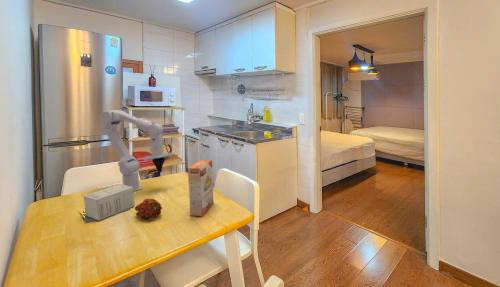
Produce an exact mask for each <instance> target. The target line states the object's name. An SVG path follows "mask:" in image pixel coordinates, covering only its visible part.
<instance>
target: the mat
mask: <svg viewBox="0 0 500 287" xmlns="http://www.w3.org/2000/svg"><path fill="white" fill-rule="evenodd" d="M129 211H131V207H130V208H128V209H126V210H123V211H121V212H118V213H116V214H113V215H111V216H115V215H118V214H121V213H124V212H129ZM83 213H86V210H85V212H84V211H83ZM83 215H84V216H85V218H84V217H83V218H82V219H83V221H84V222H85V224H87V223H91V222H95V221H97V220H96V219H93V218H91V217H88V216H86V214H83ZM83 215H82V216H83ZM82 216H81V217H82ZM111 216H110V217H111Z"/></svg>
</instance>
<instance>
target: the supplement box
mask: <svg viewBox="0 0 500 287" xmlns="http://www.w3.org/2000/svg"><path fill="white" fill-rule="evenodd" d="M134 193H135V191H133V187H131V186H127V185H123V183H120V184H117V185H114V186H110V187H107V188H105V189H101V190H97V191H95V192H92V193H91V192H90V193H88V194H85V195H83V202H84V209H85V210H86V216H88V217H91V218H93V219H96V220H95V221H99V222H100V221H102V220H104V219H106V218H108V217H111V215H112V216H114V215H113V214H115V215H117V214H116V213H118V212H121V211H123V210H126V209H128V208H130V209H131V208H133V207H134V206H135V207H136V204H135V194H134ZM118 214H119V213H118Z"/></svg>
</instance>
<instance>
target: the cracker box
mask: <svg viewBox="0 0 500 287" xmlns="http://www.w3.org/2000/svg"><path fill="white" fill-rule="evenodd" d="M187 177H188V180H187V181H188V194H189V195H188V197H189V211H190V212H189V213H190V216H192V217H203V216H205V214H206V213H207V212H208V211H209V209H210V208H211V207H212V206H213V205H214V182H213V181H214V180H213V179H214V178H213V160H210V159H209V160H208V159H200V160H198V161H197V162H195V163H193V164H192V165H190V166H189V167H188V168H187Z"/></svg>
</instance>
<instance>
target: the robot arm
mask: <svg viewBox="0 0 500 287" xmlns="http://www.w3.org/2000/svg"><path fill="white" fill-rule="evenodd" d="M100 120H101V122H102V124H103V129H104V133H105V134H106V136H107V137H108V140H109V141H110V143H111V145H112V147H113V149H114V151H115V152H116V155H117V156H118V158H119V161H118V163H117V165H118V167H119V172H120V173H121V174H122V178H121V179H122V184H123V185H127V186H131V187H133V191H134V192H135V191H139V190H143V187H141V186H140V180H139V179H140V178H139V170H140V168H141V163H140V161H138V159H137V158H136V157H135V156H134V155H132V154H130V152H129V150H128V148H127V146H126V144H125V141H124V139H122V136H121V135H120V133H119V131H118V126H119V125H120V124H121V122H122V121H125V122H128V123H130V124H133V125H135V126H136V128H137V129H139V130H142V131H144V132H147V134H148V135H149V138H150V147H151V154H150V155H148V156H143V157H142V158H143V160H142V161H143V162H148V161H152V163H153V164H154V166H155V169H156V171H157V172H156V173H158V174H159V173H162V170H163V166H164V164H165V162H166V159H165V158H172V157H173V153H172V152H164V143H163V142H164V141H163V132H164V130H165V129H164V125H163V124H161V123H160V122H156V123H155V121H153V120H152V121H151V120H149V119H147V118H146V116H145V117H139V118H138V117H136V116H134V115H132V114H129V113H127V112H126V111H124V110H121V109H110V110H103V111H102V113H101V115H100Z"/></svg>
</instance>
